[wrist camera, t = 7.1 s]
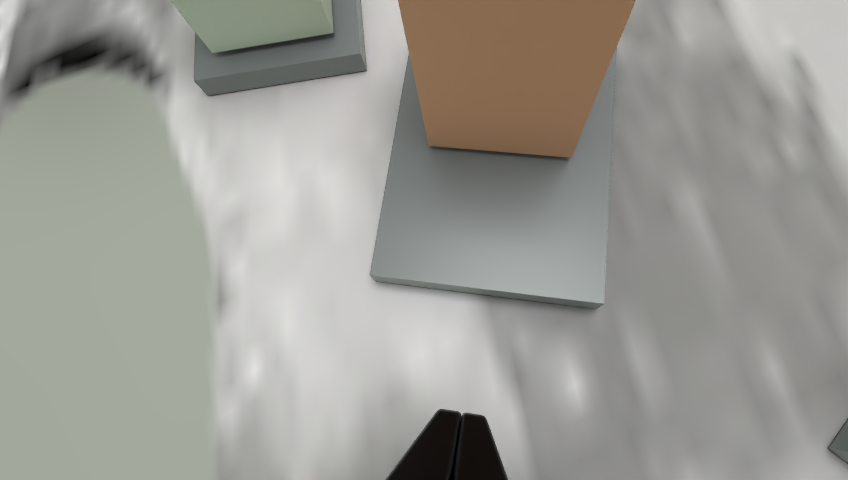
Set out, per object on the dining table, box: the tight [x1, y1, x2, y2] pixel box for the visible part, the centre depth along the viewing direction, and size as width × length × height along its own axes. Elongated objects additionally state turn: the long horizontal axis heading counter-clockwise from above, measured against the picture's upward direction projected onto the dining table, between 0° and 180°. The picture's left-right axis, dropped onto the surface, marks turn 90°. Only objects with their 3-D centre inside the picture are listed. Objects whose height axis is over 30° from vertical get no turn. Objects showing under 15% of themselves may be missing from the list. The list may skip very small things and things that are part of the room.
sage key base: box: [194, 0, 367, 96], centre depth 19 cm, size 6×6×1 cm
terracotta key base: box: [370, 47, 617, 309], centre depth 17 cm, size 9×7×1 cm
